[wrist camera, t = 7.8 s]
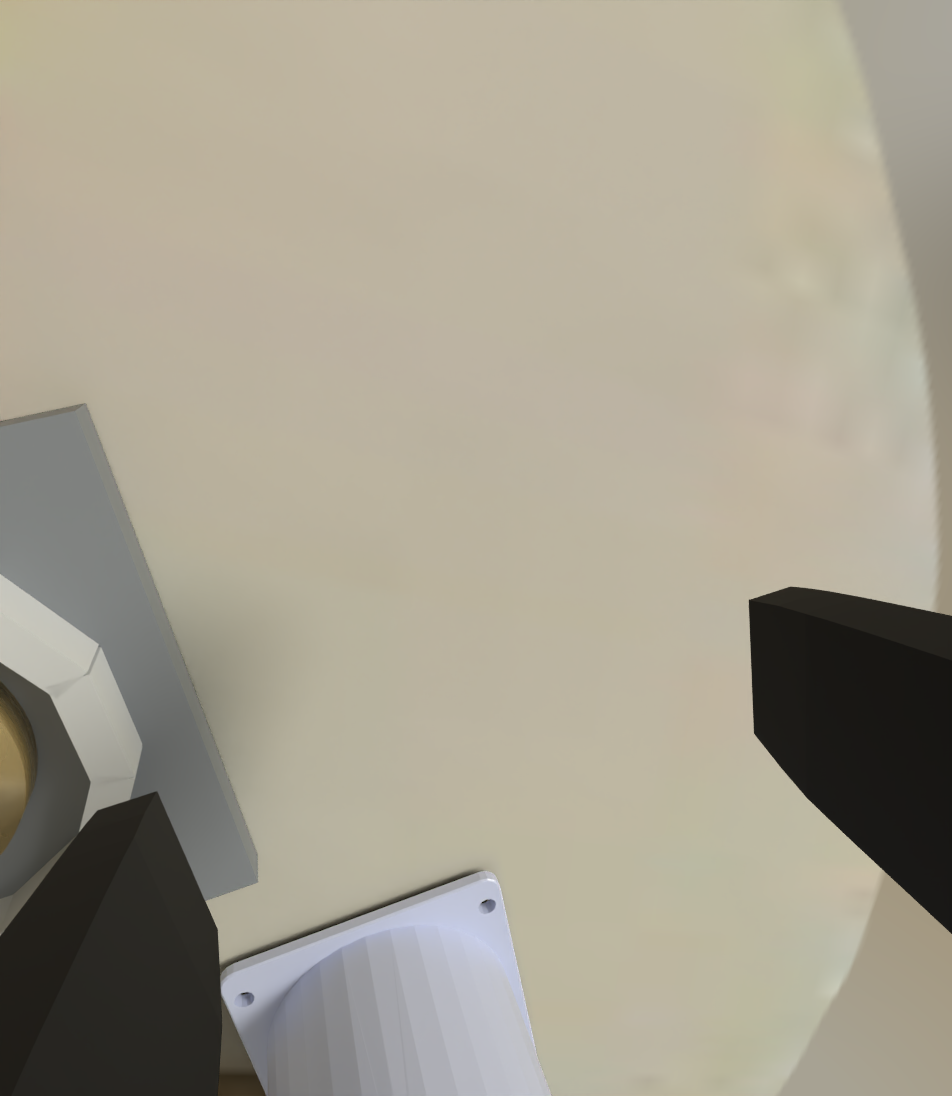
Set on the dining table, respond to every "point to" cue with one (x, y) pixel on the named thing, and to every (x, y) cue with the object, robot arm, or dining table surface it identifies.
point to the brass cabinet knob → (14, 764)
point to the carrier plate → (97, 666)
